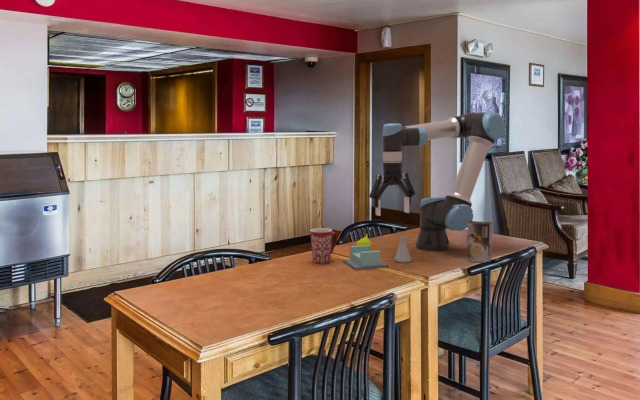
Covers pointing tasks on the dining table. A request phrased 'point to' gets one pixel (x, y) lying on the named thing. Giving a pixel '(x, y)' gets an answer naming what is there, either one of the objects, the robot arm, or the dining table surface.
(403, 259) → the flask
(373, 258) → the display stand
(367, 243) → the ornament
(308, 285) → the dining table surface
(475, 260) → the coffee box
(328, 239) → the mug
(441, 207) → the robot arm
